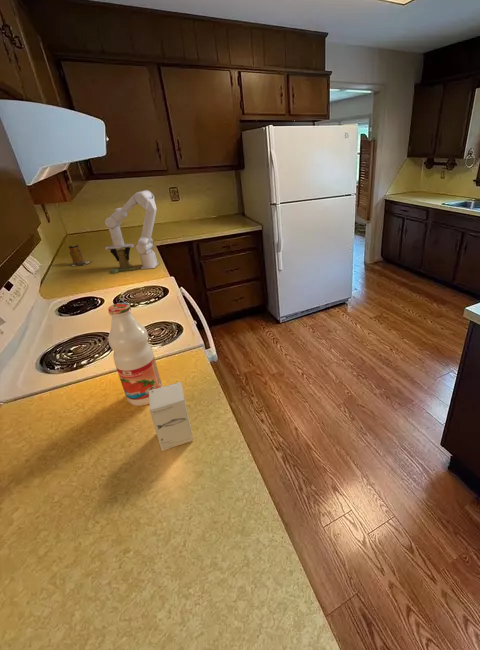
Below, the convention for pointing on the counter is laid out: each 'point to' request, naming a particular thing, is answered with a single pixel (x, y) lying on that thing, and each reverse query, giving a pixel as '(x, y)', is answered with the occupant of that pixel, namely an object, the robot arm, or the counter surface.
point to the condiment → (77, 255)
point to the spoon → (122, 270)
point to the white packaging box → (170, 416)
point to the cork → (123, 259)
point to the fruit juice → (132, 355)
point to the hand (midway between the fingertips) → (123, 260)
